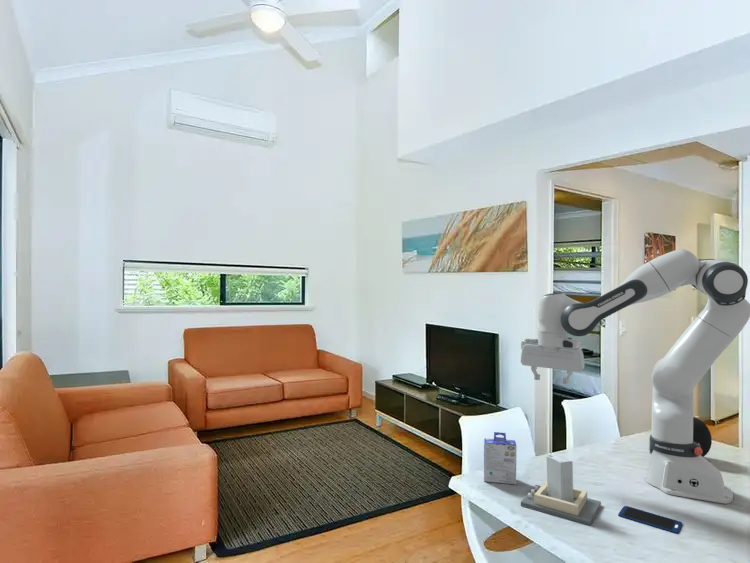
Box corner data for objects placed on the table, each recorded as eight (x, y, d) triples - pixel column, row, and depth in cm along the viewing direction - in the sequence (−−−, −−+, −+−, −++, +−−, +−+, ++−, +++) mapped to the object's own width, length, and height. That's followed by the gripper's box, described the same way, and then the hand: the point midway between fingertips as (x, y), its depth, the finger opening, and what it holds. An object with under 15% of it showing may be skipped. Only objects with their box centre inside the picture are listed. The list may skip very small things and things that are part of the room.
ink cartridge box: (515, 477, 150) (515, 432, 150) (516, 485, 144) (517, 438, 144) (483, 475, 152) (484, 430, 152) (483, 482, 146) (484, 435, 146)
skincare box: (574, 504, 130) (574, 461, 130) (560, 507, 128) (561, 462, 128) (558, 495, 135) (558, 453, 135) (545, 497, 134) (546, 455, 134)
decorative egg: (662, 455, 172) (662, 414, 172) (683, 450, 177) (684, 410, 177) (697, 467, 160) (698, 423, 161) (719, 462, 166) (719, 419, 166)
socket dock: (600, 505, 132) (601, 492, 132) (590, 525, 121) (590, 511, 121) (536, 488, 142) (536, 476, 142) (520, 505, 131) (520, 492, 131)
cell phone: (678, 536, 117) (678, 533, 117) (617, 517, 126) (617, 514, 126) (683, 524, 122) (683, 522, 122) (624, 507, 131) (624, 504, 131)
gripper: (518, 338, 162) (517, 379, 162) (581, 344, 150) (581, 387, 150) (524, 337, 167) (523, 376, 167) (585, 342, 155) (585, 384, 155)
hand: (551, 381), depth 159 cm, fingers open, 8 cm apart
